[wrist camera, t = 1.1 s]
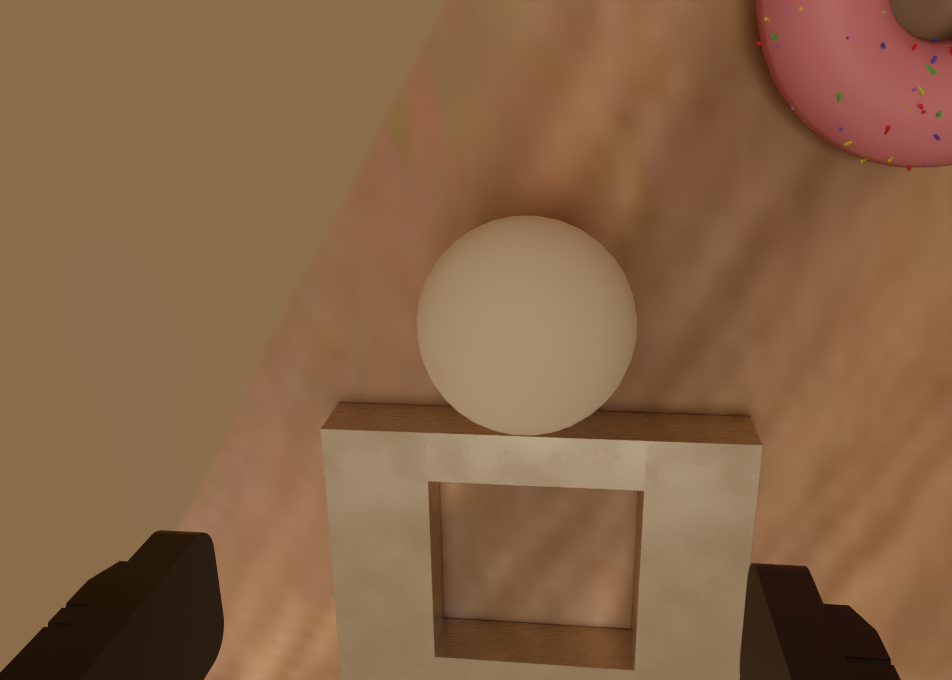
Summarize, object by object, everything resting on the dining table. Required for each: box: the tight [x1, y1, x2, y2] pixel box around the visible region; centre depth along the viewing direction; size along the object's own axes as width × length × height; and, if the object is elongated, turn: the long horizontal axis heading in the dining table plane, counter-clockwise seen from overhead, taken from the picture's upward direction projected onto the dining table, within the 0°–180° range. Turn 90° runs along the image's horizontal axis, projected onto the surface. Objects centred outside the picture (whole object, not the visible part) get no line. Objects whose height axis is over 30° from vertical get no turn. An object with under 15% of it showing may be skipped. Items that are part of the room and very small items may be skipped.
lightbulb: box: [417, 216, 637, 436], centre depth 26 cm, size 6×6×11 cm
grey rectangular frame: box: [321, 403, 763, 680], centre depth 34 cm, size 16×12×2 cm
